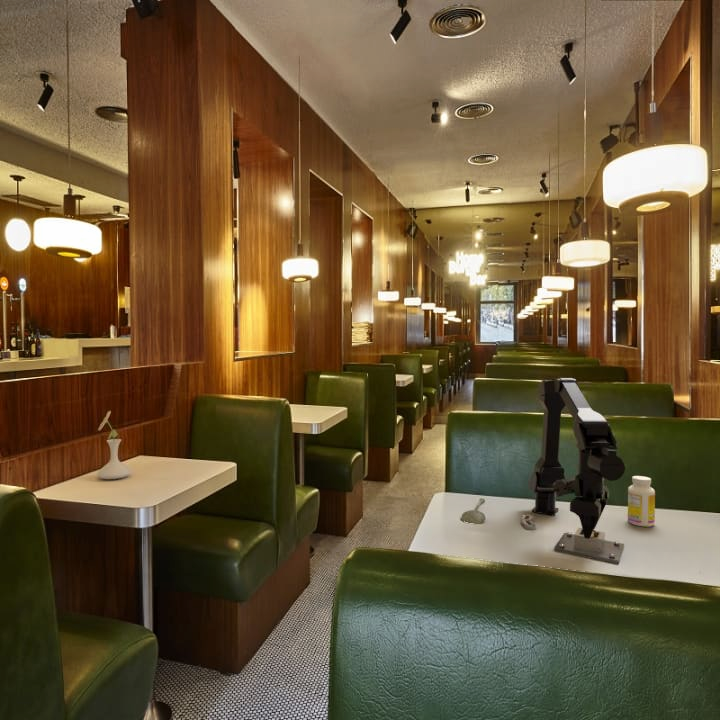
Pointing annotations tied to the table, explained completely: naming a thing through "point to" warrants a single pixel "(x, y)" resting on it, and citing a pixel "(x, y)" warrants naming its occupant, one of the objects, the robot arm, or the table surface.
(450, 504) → the table surface
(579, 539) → the end link
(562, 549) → the keeper plate
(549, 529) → the table surface
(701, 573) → the table surface
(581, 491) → the robot arm
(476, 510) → the soupspoon
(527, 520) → the chain tail
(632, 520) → the supplement bottle
